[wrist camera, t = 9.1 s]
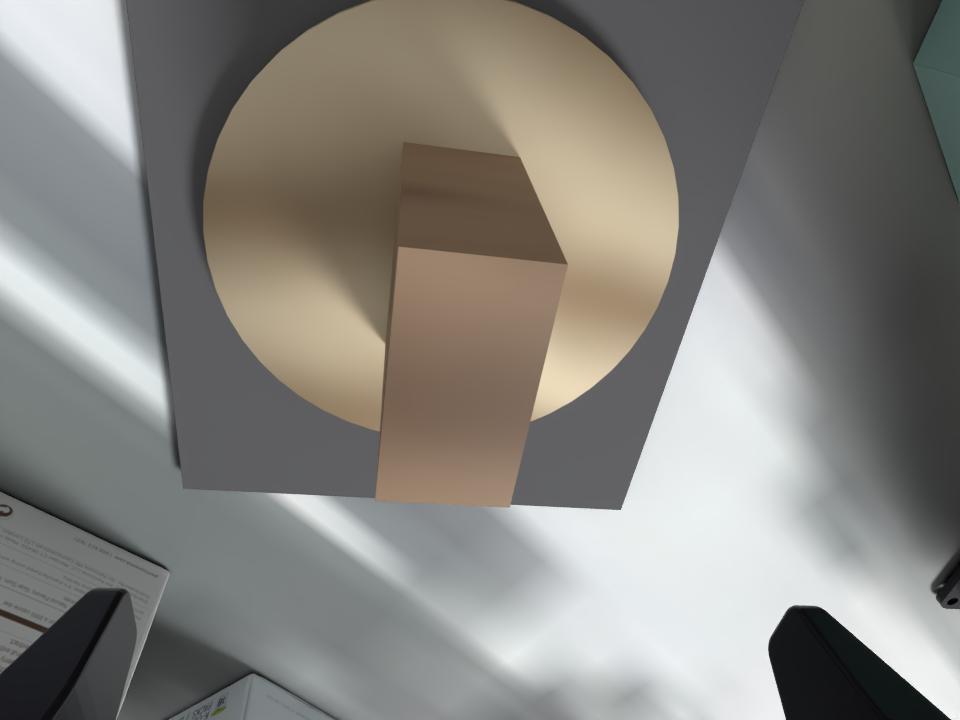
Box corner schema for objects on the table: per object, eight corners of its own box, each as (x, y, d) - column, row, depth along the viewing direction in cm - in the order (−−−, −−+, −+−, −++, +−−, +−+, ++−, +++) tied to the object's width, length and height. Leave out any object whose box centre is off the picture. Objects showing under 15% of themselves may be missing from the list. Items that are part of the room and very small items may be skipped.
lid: (606, 435, 24) (672, 612, 18) (223, 409, 22) (149, 598, 16) (735, 34, 17) (914, 99, 11) (193, -56, 15) (43, -38, 9)
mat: (616, 498, 26) (620, 509, 26) (187, 476, 24) (183, 488, 24) (833, -120, 16) (847, -121, 15) (106, -268, 14) (94, -275, 13)
